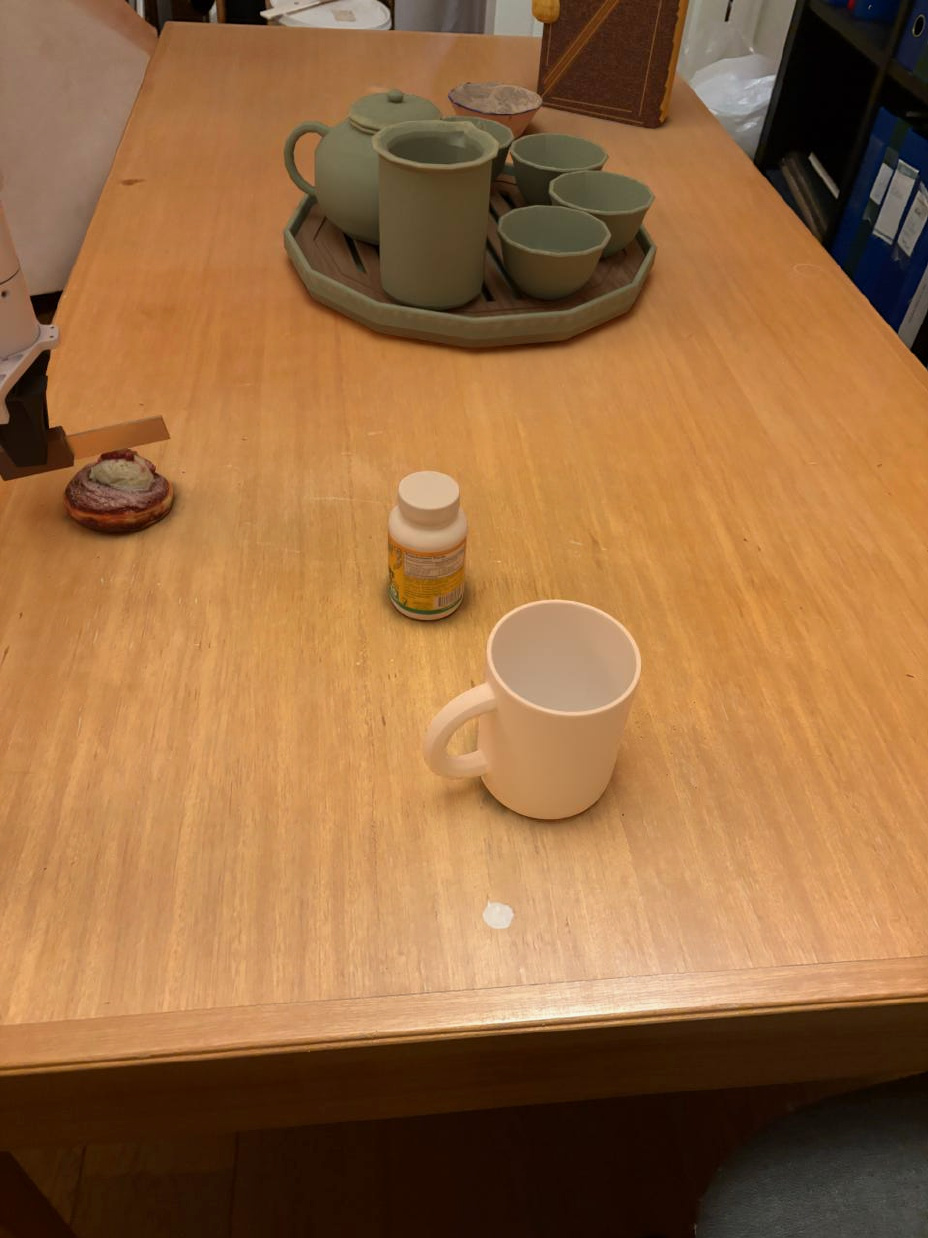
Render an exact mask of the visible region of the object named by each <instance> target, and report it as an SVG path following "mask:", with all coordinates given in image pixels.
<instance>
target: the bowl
mask: <svg viewBox="0 0 928 1238" xmlns="http://www.w3.org/2000/svg"><path fill="white" fill-rule="evenodd" d="M447 98H448V100H449V103H450V105H451V106H452V108H453V110H454V113H455V114H456V115H455V116H468V117H479V118H483V119H488V120H492V121H496V122H498V123H500V124H502V125H504V126H506V127H508V128H510V129H511V131H512V133H513V135H514V138H515V140H518V139H519V138H521V137H522V134H523V133H524V131H525V130H526V128H527V127H528V126H529V124H530V123H531V121H532V120H533V118H534V116H535V115H536V114H537V112H538V111H539V110H540V109H541V107H543V106H542V102H543V100H542V98H541V97H540V96H539V95H538V94H537V92H535V91H534V90H532V89H529V88H527V87H524V86H522V85H517V84H511V83H505V82H504V83H503V82H499V81H485V82H484V81H480V82H479V81H476V82H469V81H468V82H467V83H465V82H462V83H461V84H460V85H458V86H456V87H454V88H452V89H451V90H450V91H449V92H448V94H447Z"/></svg>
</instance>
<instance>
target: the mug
mask: <svg viewBox="0 0 928 1238" xmlns="http://www.w3.org/2000/svg"><path fill="white" fill-rule="evenodd" d="M484 660H485V661H484V669H483V680H482V683H481V684H479V685H476V686H473V687H472V688H469V689H467V690H466V691H464V692H462V693H460V694H459V695H457V696H455V697H454V698H452V699H451V700H450V701H449V702H448V703H446V705H444V706H443V707H442V708H441V709H440V710H439V711H438V712H437V713H436V714H435V716H434V717H433V718H432V720H431V721H430V723H429V725H428V727H427V729H426V730H425V734H424V737H423V741H422V755H423V759H424V763H425V764H426V766H427V767H428V768H429V770H430V771H431V772H432V773H434V774H435V775H436V776H439V777H441V778H443V779H447V780H458V781H460V780H467V779H472V778H477V777H480V778H481V781H482V783H483V784H484V786H485V787H486V788H487V790H488V791H489V793H490V794H491V795H492V796H493V797H494V798H495V799H496V800H497V801H498V802H499V803H501V804H502V805H503V806H505V807H506V808H508V809H509V810H511V811H513V812H515V813H517V814H520V815H522V816H526V817H528V818H533V819H540V820H558V819H566V818H570V817H572V816H575V815H578V814H580V813H582V812H584V811H585V810H587V809H588V808H590V807H591V806H593V805H594V804H595V803H596V802H597V801H598V800H599V799H600V798H601V797H602V795H603V794H604V792H605V791H606V789H607V787H608V784H609V783H610V780H611V778H612V775H613V771H614V768H615V765H616V761H617V758H618V756H619V755H618V754H619V751H620V748H621V744H622V741H623V737H624V734H625V732H626V731H625V730H626V726H627V724H628V719H629V716H630V714H631V713H630V712H631V710H632V707H633V703H634V699H635V696H636V693H637V689H638V685H639V681H640V678H641V674H642V657H641V652H640V650H639V647H638V644H637V642H636V641H635V639H634V638H633V635H632V634H631V633H630V632H629V630H628V629H627V628H626V627H625V626H624V625H623V624H622V623H621V622H619V620H617V619H616V618H615V617H613V616H612V615H611V614H608V612H605V611H603V610H601V609H599V608H598V607H595V606H592V605H589V604H587V603H583V602H579V601H574V600H568V599H543V600H542V599H541V600H537V601H532V602H529V603H525V604H522V605H520V606H518V607H516V608H514V609H511V610H510V611H508V612H507V613H506V614H505V615H504V616H502V617H501V618H500V619H499V620H498V621H497V622H496V624H495V625H494V627H493V628H492V630H491V631H490V633H489V636H488V638H487V642H486V650H485V659H484ZM477 717H478V718H479V720H478V728H477V729H478V730H477V739H476V750H475V751H473V752H469V753H466V754H461V755H451V754H448V753H447V752H448V751H447V749H448V745H449V743H450V740H451V739H452V737H453V736H454V734H455V733H456V732H457V731H458V730H460V728H461V727H462V726H464V725H465V724H466V723H468V722H469V721H471V720H473V719H475V718H477Z"/></svg>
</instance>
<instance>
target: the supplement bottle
mask: <svg viewBox="0 0 928 1238" xmlns="http://www.w3.org/2000/svg"><path fill="white" fill-rule="evenodd" d="M396 501H397V503H396V505H395V506H394V507H393V508H392V510H391V511H390V514H389V516H388V520H387V558H388V559H387V561H388V564H387V565H388V567H387V568H388V569H387V570H388V571H387V572H388V584H387V585H388V595H389V599H390V601H391V603H392V605H394V607H395V608H396V610H398V611H399V612H400V613H401V614H403V615H404V616H405V617H406V616H407V617H408V618H411V619H415V620H420V621H436V620H439V619H443V618H446V617H447V616H449V615H451V614H453V613H454V612H455V610H457V609H458V608H459V606H460V605H461V604H462V601H463V598H464V593H465V592H464V591H465V590H464V589H465V576H466V559H467V546H468V532H469V521H468V517H467V514H466V513H465V511H464V510H463V508H462V507H461V489H460V485H459V484H458V483H457V481H456V480H455V479H454V478H453V477H452V476H449V475H448V474H445V473H443V472H440V471H435V470H420V471H416V472H412V473H410V474H407V475H406V476H405V477H404V478H402V480H401V481H400V482H399V483H398V487H397V500H396Z"/></svg>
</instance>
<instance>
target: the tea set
mask: <svg viewBox="0 0 928 1238" xmlns="http://www.w3.org/2000/svg"><path fill="white" fill-rule="evenodd" d="M308 133H311V134H314V133H315V134H318V135H319V136H320V137H321V138H320V140H319V142H318V143H317V146H316V148H315V150H314V185H312V184H310V182H308V181H306V180H305V179H304V177H303V176H302V174H301V173H300V172H299V170H298V168H297V165H296V163H295V153H294V152H295V148H296V145H297V142H298V141H299V139H301V137H303V136H304V135H306V134H308ZM508 155H510V157H511V160H512V162H510V161H507V158H508ZM609 158H610V156H609V154H608V151H606V149H605V148H604V146H602V145H601V144H598V143H597V142H594V141H593V140H591V139H589V138H586V137H580V136H576V135H572V134H567V133H554V132H553V133H551V132H541V133H535V134H528V135H527V134H526V135H523V136H520V137H519V138H517V139H515V138H514V135H513V133H512V131H511V129H510V128H508V127H506V126H504V125H502V124H500V123H498V122H496V121H492V120H488V119H483V118H479V117H468V116H457V115H449V116H443V112H442V111H441V109H440V108H439V107H438V106H436V104H434V103H433V101H432V100H430V99H427V98H425V97H422V96H419V95H417V94H413V93H412V94H411V93H404V92H403V91H402V90H400V89H398V88H391V89H389V90H388V91H387V92H377V93H373V94H372V93H371V94H367V95H364V96H362V97H361V98H359V99H358V100H356V101H355V102H353V103H351V104H350V106H349V107H348V117H347V118H345V119H343V120H341V121H340V122H338V123H337V124H335V125H333V126H332V127H331V126H328V125H327V124H324V123H322V122H320V121H318V120H307V121H306V120H305V121H303V122H301V123H300V124H298V125H296V126H294V128H292V130H291V132H290V133H289V135H288V136H287V138H286V139H285V143H284V147H283V161H284V167H285V169H286V172H287V174H288V177H289V179H290V180H291V181H292V183H294V185H295V186H296V187H297V188H298V190H300V191H301V192H303V193H304V194H303V196H302V198H301V199H300V201H299V202H298V204H297V206H296V208H295V209H294V211H293V213H292V215H291V217H290V218H289V220H288V222H287V223H286V225H285V226H284V228H283V230H282V238H283V247H284V250H285V251H286V254H287V255H288V257H289V259H290V261H291V262H292V264H293V266H294V268H295V269H296V271H297V273H298V274H299V275H298V276H299V277H300V278H301V280H302V282H303V284H304V286H305V287H306V289H307V291H308V292H309V294H310V296H311V298H312V300H314V301H316V302H319V303H321V304H323V305H324V306H325V307H329V308H330V309H332V310H335V311H336V312H337V313H340V314H342V315H343V316H346V317H348V318H349V319H352V320H354V321H356V322H358V323H360V324H362V325H364V326H365V327H367V328H369V329H371V330H373V331H375V332H376V333H379V334H386V335H390V336H397V337H398V336H399V337H403V338H409V339H416V340H421V341H428V342H433V343H440V344H445V345H451V346H458V347H463V348H468V349H479V348H490V347H491V348H492V347H502V346H513V345H524V344H525V345H526V344H535V343H546V342H558V341H567V340H568V339H570V338H573V337H575V336H578V335H579V334H581V333H584V332H586V331H589V330H591V329H593V328H595V327H597V326H599V325H601V324H604V323H606V322H608V321H610V320H613V319H614V318H618V317H619V316H621V315H624V314H627V313H628V312H629V310H630V309H631V308H632V306H633V305H634V304H635V301H636V300H637V298H638V296H639V294H640V292H641V290H642V288H643V286H644V284H645V282H646V280H647V278H648V276H649V275H650V273H651V270H652V269H653V267H654V264H655V262H656V261H655V260H656V256H657V250H658V246H657V245H656V243H655V241H654V240H653V238H652V237H651V235H650V233H649V232H648V230H647V228H646V227H645V225H644V223H643V221H644V219H645V217H646V214H647V212H648V211H649V209H650V208H651V206H652V204H653V203H654V201H655V199H656V195H655V194H654V192H653V191H652V189H651V188H650V186H649V185H648V184H645V183H644V182H641V181H639V180H638V179H636V178H634V177H632V176H629V175H625V174H621V173H616V172H612V171H607V170H603V167H604V166H605V165H606V163H607V162H608V159H609Z"/></svg>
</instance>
